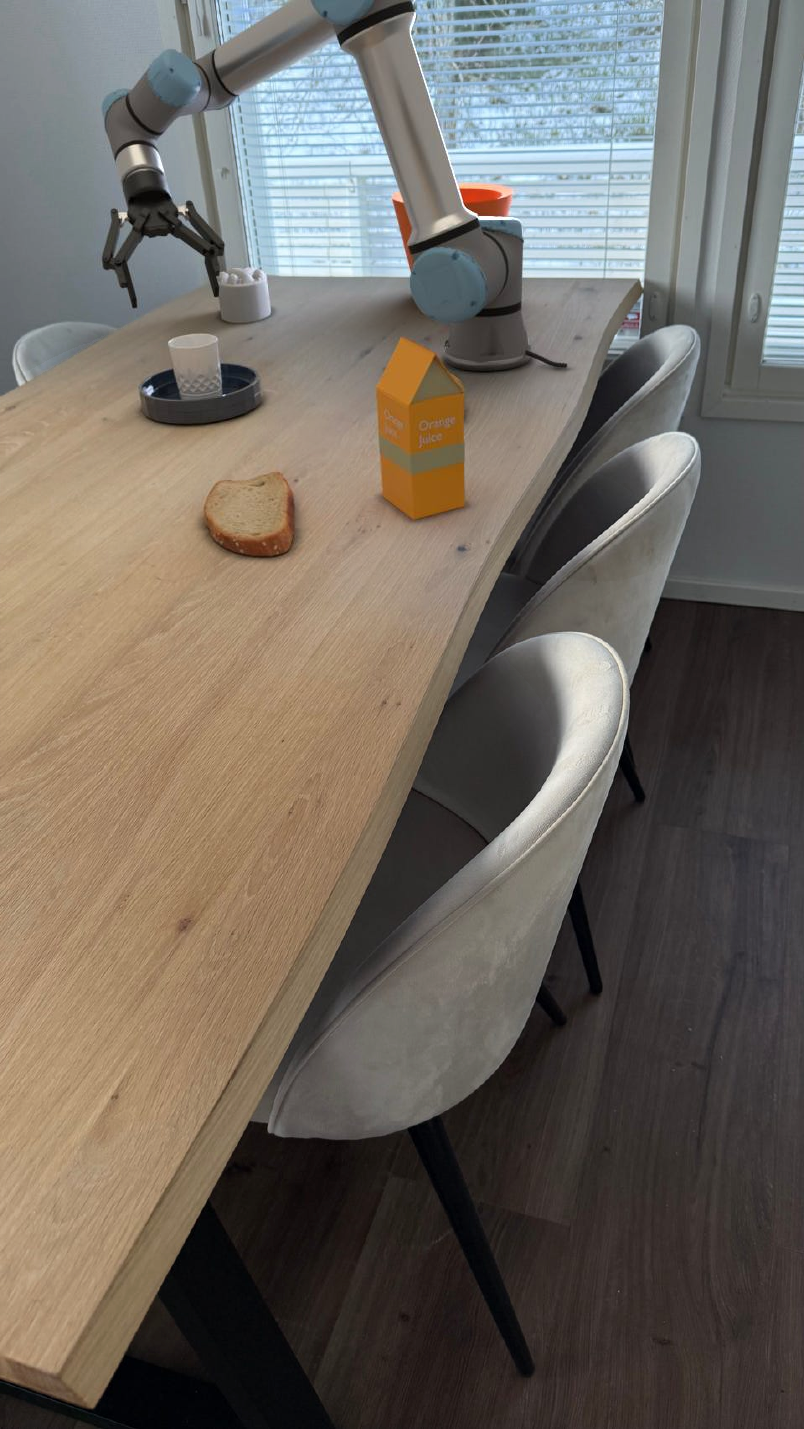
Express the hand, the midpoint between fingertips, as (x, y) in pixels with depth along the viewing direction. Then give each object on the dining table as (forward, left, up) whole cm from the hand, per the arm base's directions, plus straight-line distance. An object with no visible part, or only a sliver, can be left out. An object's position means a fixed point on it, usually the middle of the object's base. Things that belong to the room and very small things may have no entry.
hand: (176, 298), depth 164 cm
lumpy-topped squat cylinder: (+30, -37, -15) cm, 50 cm away
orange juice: (-64, +10, -15) cm, 66 cm away
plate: (-9, +4, -15) cm, 18 cm away
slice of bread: (-51, +27, -15) cm, 60 cm away
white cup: (-9, +4, -15) cm, 18 cm away
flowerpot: (+3, -73, -15) cm, 74 cm away
